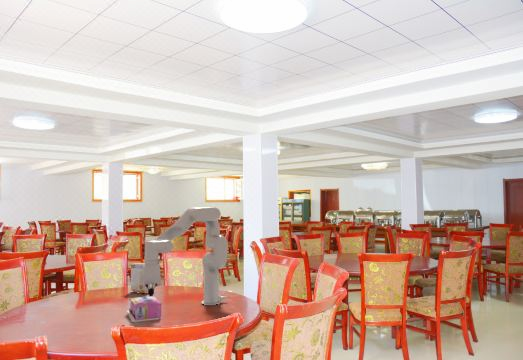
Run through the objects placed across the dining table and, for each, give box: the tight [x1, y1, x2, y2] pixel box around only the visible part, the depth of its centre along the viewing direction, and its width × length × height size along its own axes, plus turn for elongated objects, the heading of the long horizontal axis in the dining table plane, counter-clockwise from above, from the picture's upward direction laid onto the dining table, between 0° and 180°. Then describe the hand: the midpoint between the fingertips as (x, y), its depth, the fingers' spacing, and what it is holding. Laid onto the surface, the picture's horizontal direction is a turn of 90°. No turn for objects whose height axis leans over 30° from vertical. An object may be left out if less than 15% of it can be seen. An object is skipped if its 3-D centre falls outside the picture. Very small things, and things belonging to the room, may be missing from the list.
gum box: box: [128, 295, 162, 320], centre depth 233 cm, size 24×8×14 cm
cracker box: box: [130, 262, 148, 294], centre depth 302 cm, size 14×6×21 cm, turn 58°
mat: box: [126, 310, 161, 323], centre depth 233 cm, size 14×26×1 cm, turn 24°
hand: (151, 295), depth 235 cm, fingers closed
